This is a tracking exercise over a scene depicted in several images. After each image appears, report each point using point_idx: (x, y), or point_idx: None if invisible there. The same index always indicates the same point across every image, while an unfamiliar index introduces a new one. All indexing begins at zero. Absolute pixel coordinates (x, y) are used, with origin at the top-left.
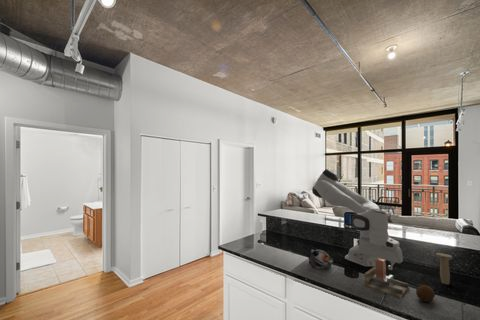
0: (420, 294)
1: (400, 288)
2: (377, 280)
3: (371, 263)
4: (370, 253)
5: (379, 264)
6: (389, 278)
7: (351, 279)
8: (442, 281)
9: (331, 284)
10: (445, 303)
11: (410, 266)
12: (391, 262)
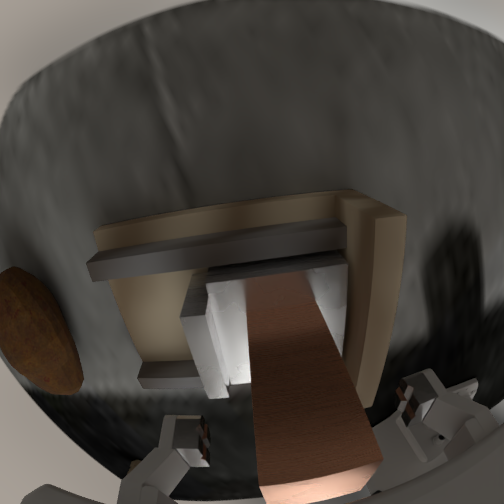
0: (2, 278)
1: (154, 327)
2: (285, 264)
3: (405, 388)
4: (476, 487)
5: (308, 424)
6: (182, 326)
7: (440, 199)
8: None
9: (457, 37)
10: None
11: None
12: (140, 498)
